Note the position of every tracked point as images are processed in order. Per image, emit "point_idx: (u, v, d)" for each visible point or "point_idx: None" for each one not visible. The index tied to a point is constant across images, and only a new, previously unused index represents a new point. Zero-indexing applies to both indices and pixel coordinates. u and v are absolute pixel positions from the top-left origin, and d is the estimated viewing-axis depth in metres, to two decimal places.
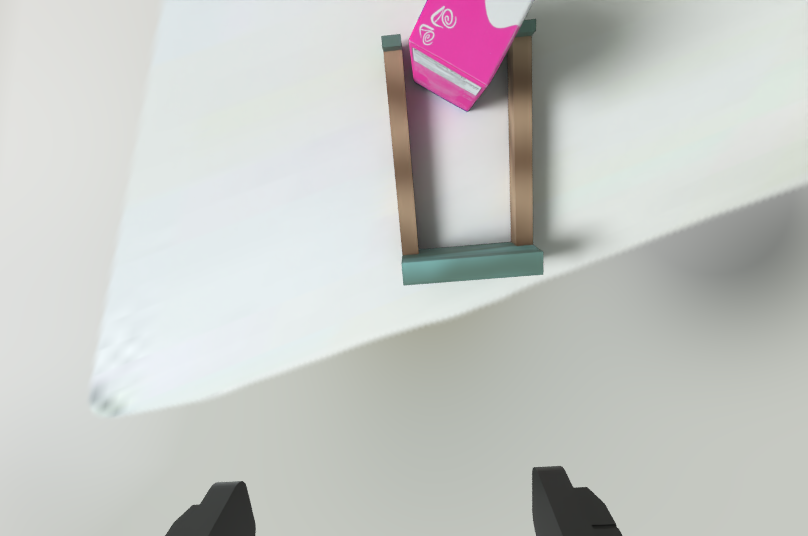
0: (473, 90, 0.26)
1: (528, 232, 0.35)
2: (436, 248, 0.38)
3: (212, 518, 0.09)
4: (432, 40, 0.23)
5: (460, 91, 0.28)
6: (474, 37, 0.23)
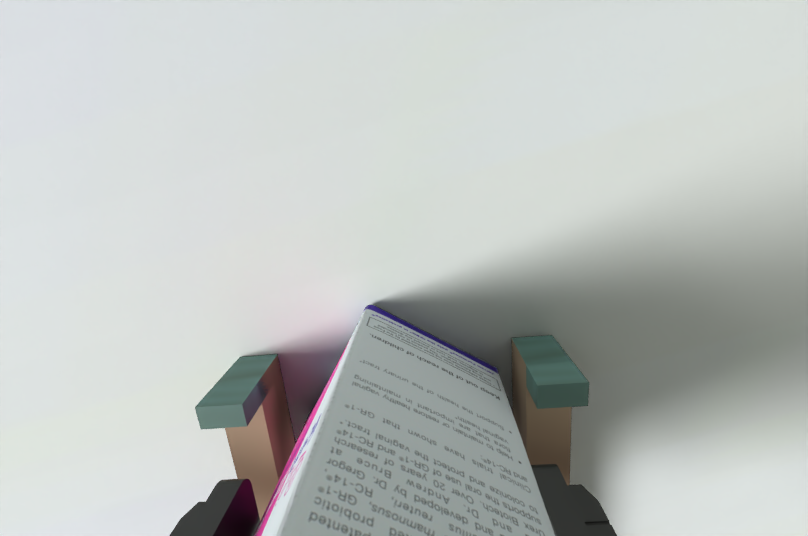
0: None
1: None
2: None
3: (218, 515, 0.09)
4: None
5: None
6: None
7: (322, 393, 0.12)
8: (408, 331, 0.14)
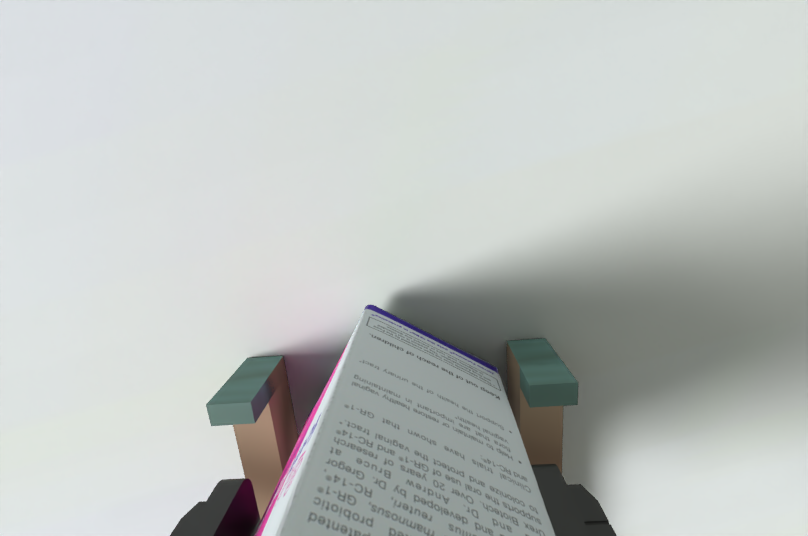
0: None
1: None
2: None
3: (219, 514, 0.09)
4: None
5: None
6: None
7: (322, 393, 0.12)
8: (408, 331, 0.14)
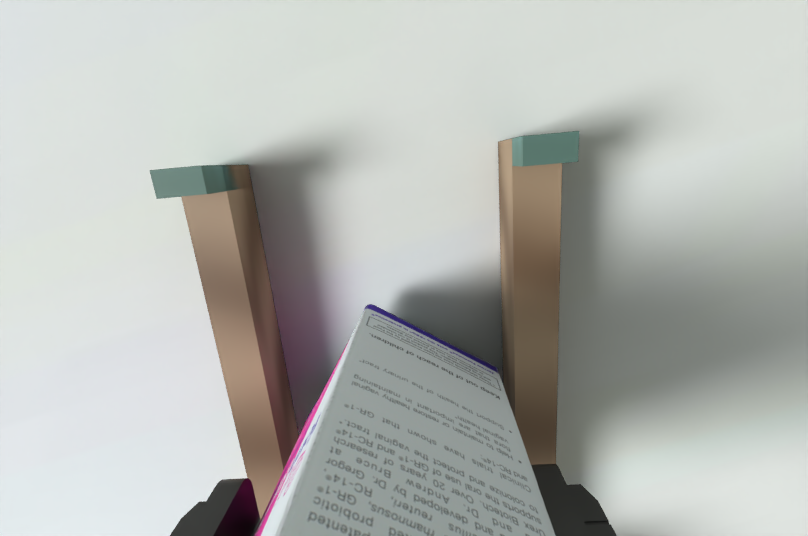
0: None
1: None
2: None
3: (219, 514, 0.09)
4: None
5: None
6: None
7: (322, 393, 0.12)
8: (408, 331, 0.14)
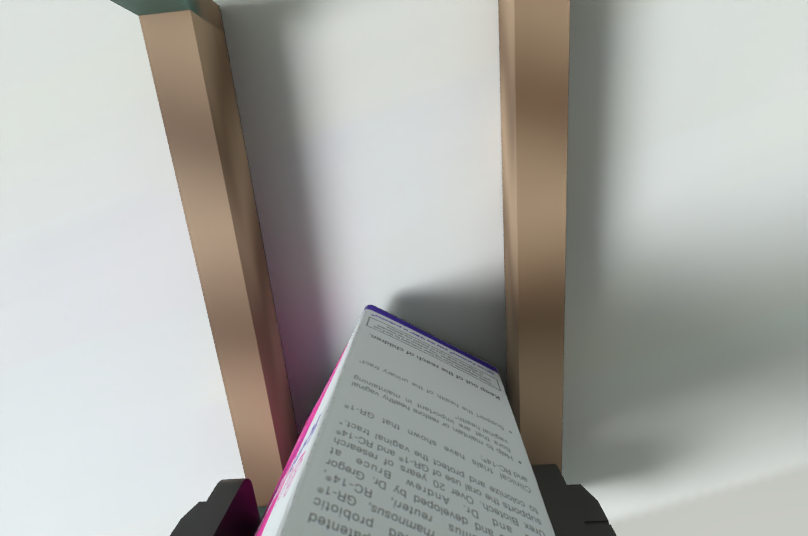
0: None
1: None
2: None
3: (219, 514, 0.09)
4: None
5: None
6: None
7: (322, 393, 0.12)
8: (408, 331, 0.14)
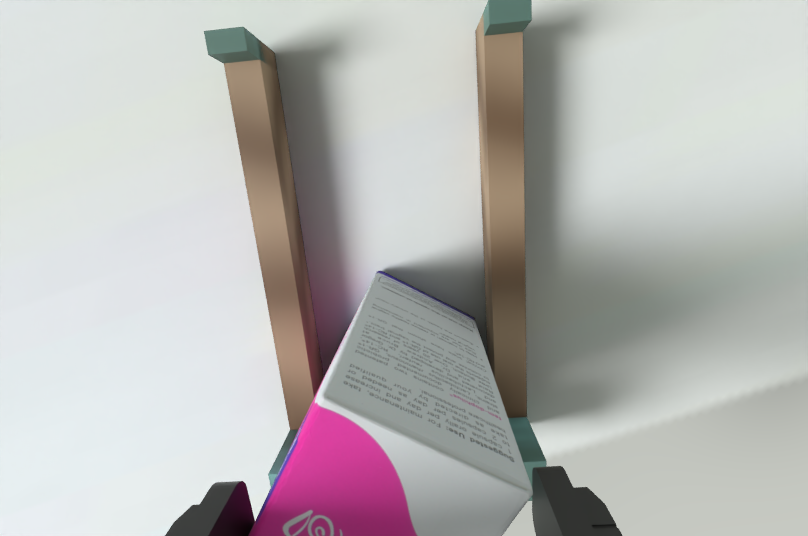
0: None
1: (518, 396, 0.19)
2: None
3: (212, 518, 0.09)
4: None
5: None
6: None
7: None
8: (408, 288, 0.19)
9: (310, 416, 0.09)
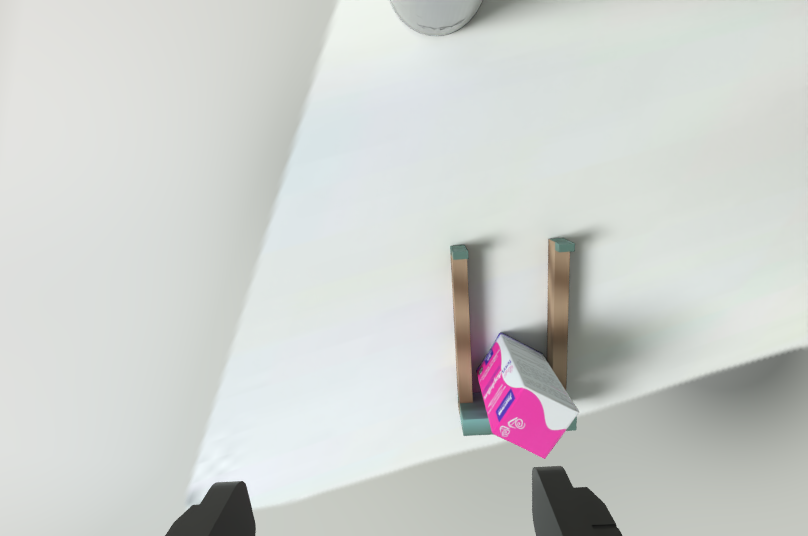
0: None
1: None
2: None
3: (212, 518, 0.09)
4: (508, 434, 0.34)
5: None
6: (536, 434, 0.34)
7: (492, 359, 0.42)
8: (514, 341, 0.43)
9: (519, 391, 0.33)
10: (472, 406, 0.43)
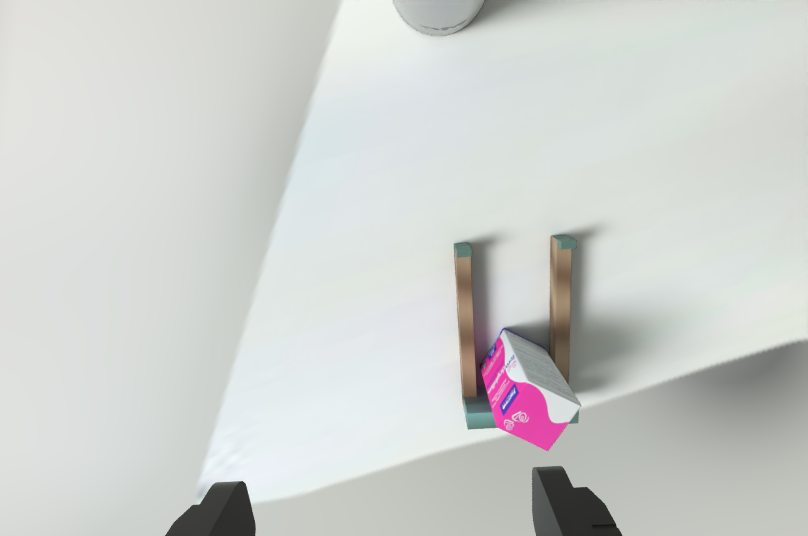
0: None
1: None
2: None
3: (212, 518, 0.09)
4: (512, 427, 0.35)
5: None
6: (540, 427, 0.35)
7: (496, 354, 0.43)
8: (517, 336, 0.44)
9: (523, 385, 0.34)
10: (476, 400, 0.44)
